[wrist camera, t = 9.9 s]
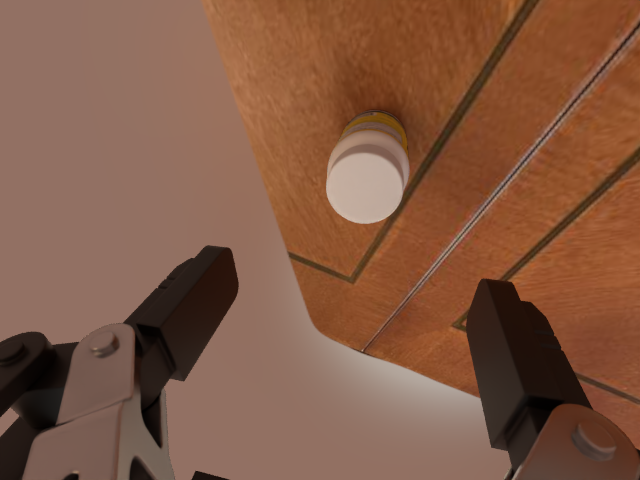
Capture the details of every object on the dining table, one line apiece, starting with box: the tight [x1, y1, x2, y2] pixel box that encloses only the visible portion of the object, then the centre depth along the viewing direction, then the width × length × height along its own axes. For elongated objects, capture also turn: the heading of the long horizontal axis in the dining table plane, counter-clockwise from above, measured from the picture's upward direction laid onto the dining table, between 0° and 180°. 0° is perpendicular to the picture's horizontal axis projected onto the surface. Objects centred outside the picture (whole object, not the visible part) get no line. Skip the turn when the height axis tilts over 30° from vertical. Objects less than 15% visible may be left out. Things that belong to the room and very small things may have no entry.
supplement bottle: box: [326, 110, 409, 224], centre depth 19 cm, size 5×5×8 cm
